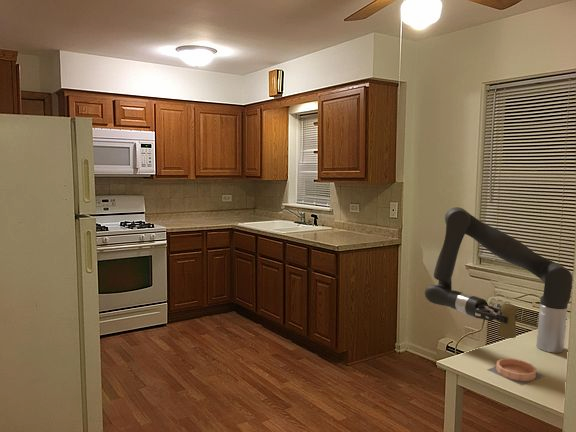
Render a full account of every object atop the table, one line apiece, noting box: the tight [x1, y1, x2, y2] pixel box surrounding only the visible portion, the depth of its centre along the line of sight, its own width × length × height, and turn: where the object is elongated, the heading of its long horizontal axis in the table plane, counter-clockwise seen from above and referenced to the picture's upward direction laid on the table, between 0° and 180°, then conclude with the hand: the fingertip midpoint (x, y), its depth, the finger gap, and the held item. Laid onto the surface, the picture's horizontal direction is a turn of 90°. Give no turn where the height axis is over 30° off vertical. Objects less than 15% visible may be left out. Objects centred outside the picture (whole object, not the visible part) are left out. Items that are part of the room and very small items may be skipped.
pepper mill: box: [497, 303, 518, 339], centre depth 168 cm, size 6×6×11 cm
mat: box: [486, 366, 546, 386], centre depth 164 cm, size 13×13×1 cm
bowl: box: [495, 358, 537, 382], centre depth 164 cm, size 12×12×2 cm
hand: (511, 319), depth 167 cm, fingers closed on pepper mill, 4 cm apart
